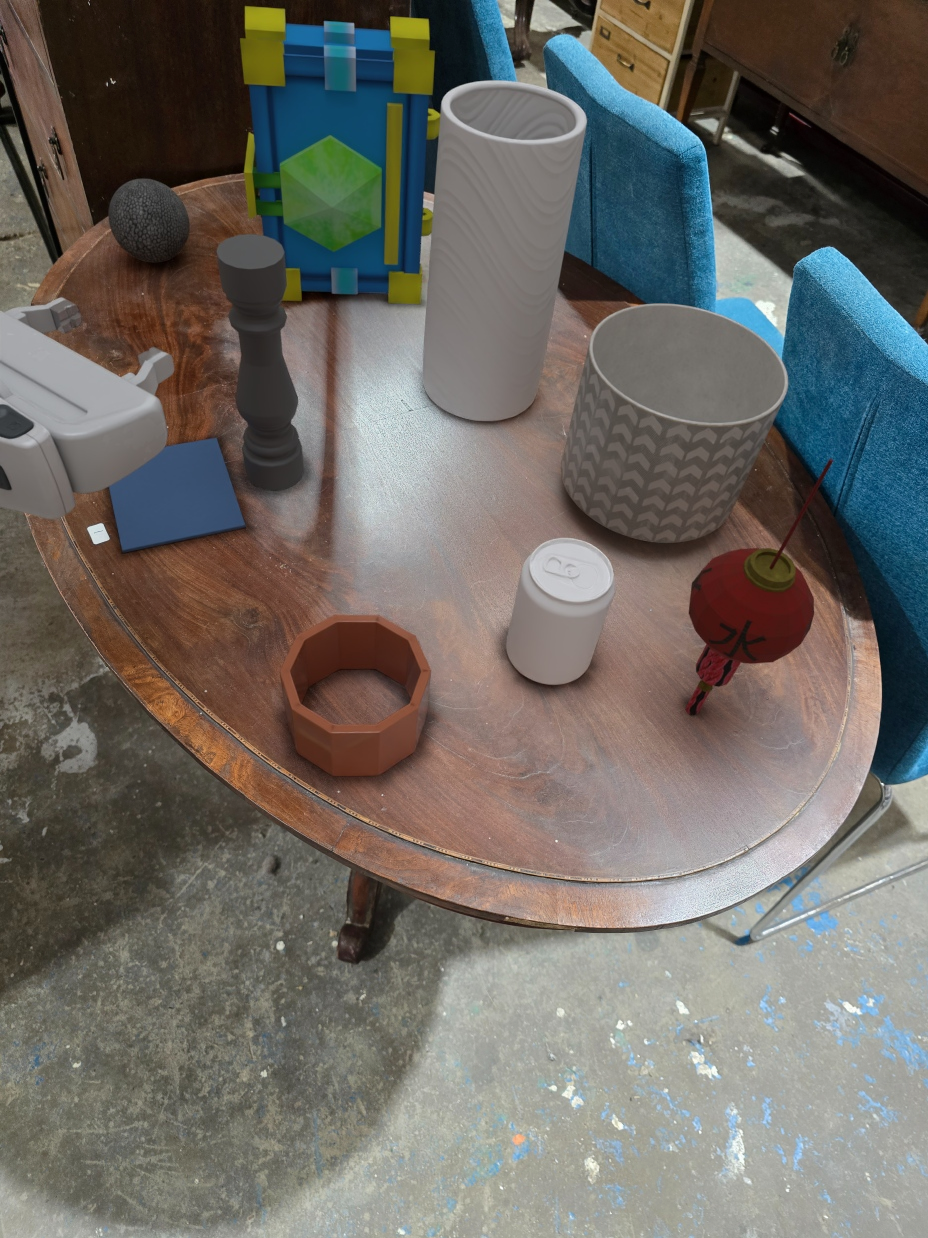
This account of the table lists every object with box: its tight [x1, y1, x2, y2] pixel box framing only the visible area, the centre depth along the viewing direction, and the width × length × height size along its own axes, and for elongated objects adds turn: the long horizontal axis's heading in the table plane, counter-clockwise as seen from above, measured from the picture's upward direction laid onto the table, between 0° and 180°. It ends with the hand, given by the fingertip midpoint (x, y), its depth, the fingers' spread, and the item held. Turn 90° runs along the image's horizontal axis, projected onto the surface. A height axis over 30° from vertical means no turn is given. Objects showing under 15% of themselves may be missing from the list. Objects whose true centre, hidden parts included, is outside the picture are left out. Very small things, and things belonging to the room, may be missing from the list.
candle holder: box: [215, 233, 305, 492], centre depth 83 cm, size 6×6×25 cm
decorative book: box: [239, 5, 441, 305], centre depth 105 cm, size 14×23×30 cm, turn 96°
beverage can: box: [505, 537, 617, 686], centre depth 76 cm, size 8×8×12 cm
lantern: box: [685, 458, 834, 717], centre depth 67 cm, size 10×10×30 cm
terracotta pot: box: [279, 614, 432, 777], centre depth 72 cm, size 12×12×7 cm
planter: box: [560, 303, 789, 544], centre depth 88 cm, size 19×19×18 cm
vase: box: [422, 79, 588, 422], centre depth 93 cm, size 14×14×32 cm
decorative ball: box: [107, 178, 191, 263], centre depth 113 cm, size 10×10×10 cm
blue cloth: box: [108, 437, 246, 554], centre depth 89 cm, size 12×14×1 cm
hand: (119, 333), depth 63 cm, fingers open, 8 cm apart
